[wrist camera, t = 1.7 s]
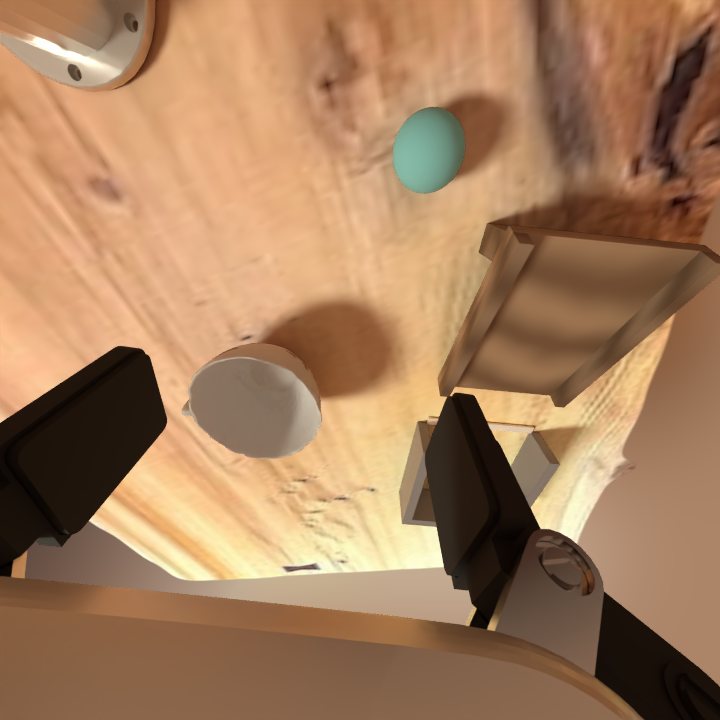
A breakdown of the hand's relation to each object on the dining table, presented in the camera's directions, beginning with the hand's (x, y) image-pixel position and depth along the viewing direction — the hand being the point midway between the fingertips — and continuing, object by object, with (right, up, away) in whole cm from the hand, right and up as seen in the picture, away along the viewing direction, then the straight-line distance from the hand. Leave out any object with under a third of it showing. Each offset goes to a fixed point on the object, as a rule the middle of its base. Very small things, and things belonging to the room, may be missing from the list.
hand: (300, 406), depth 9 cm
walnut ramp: (+19, +6, +20) cm, 28 cm away
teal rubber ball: (+7, +18, +14) cm, 23 cm away
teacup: (-9, +1, +25) cm, 27 cm away
